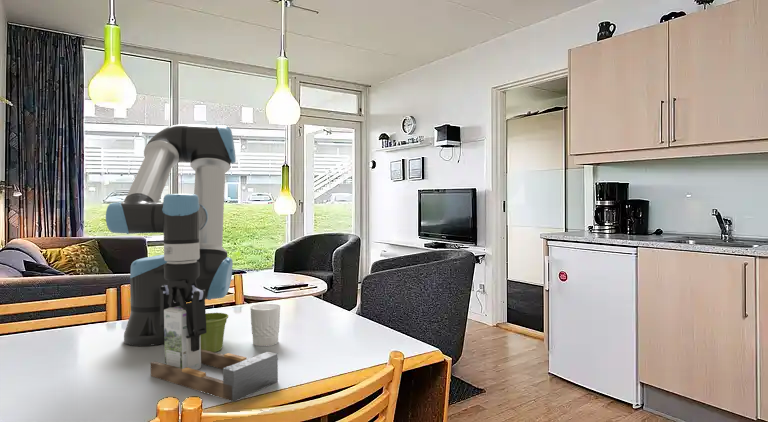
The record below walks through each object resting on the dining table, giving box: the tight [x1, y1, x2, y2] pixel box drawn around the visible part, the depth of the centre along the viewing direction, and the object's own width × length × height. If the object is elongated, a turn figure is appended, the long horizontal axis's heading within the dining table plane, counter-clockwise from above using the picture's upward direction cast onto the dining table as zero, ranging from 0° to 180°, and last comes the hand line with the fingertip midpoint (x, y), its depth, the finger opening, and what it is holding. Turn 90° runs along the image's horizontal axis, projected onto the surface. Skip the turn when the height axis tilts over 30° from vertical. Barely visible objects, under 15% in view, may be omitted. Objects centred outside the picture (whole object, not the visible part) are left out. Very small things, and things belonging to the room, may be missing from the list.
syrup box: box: [164, 306, 202, 371], centre depth 110 cm, size 6×6×14 cm
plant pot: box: [201, 312, 229, 353], centre depth 124 cm, size 9×9×9 cm
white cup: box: [249, 302, 281, 347], centre depth 130 cm, size 8×8×10 cm
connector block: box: [222, 351, 279, 402], centre depth 98 cm, size 3×12×6 cm, turn 149°
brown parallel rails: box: [150, 349, 248, 402], centre depth 105 cm, size 26×12×4 cm, turn 59°
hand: (183, 361), depth 110 cm, fingers closed on syrup box, 6 cm apart
